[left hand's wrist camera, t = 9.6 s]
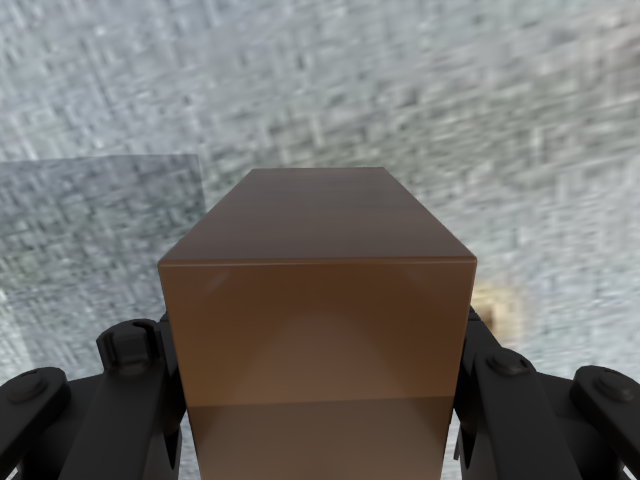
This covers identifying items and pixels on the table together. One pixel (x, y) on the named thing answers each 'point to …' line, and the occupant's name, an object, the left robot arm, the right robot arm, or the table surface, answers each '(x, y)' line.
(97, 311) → the table surface
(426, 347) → the beam
